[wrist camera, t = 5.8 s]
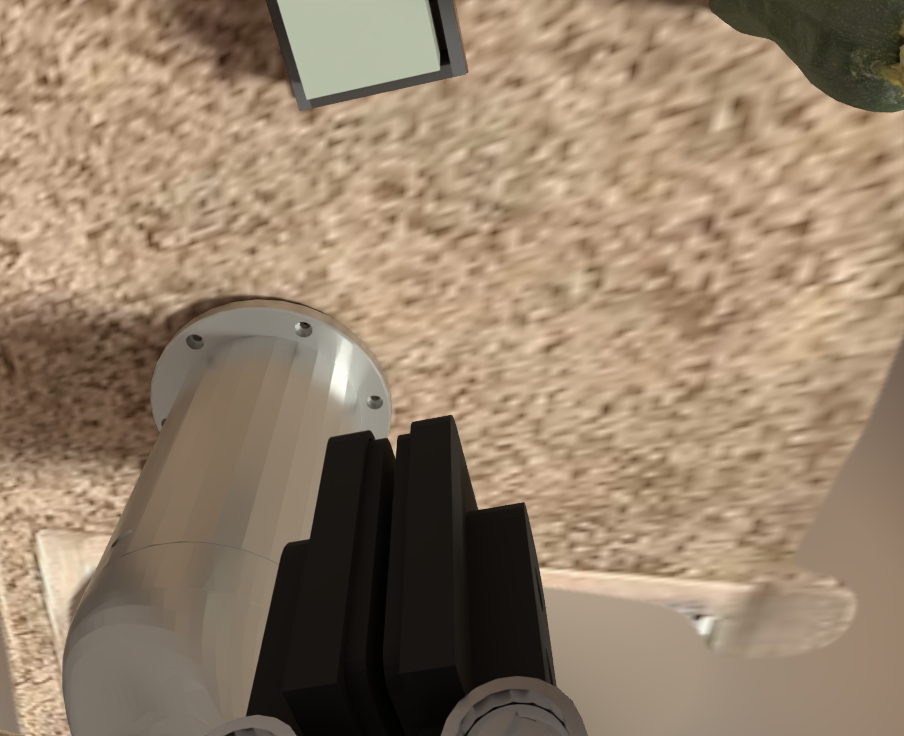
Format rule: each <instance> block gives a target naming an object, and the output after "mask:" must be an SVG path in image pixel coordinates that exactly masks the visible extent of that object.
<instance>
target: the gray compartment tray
mask: <svg viewBox="0 0 904 736" xmlns="http://www.w3.org/2000/svg"><path fill="white" fill-rule="evenodd" d="M266 2H267V6H268V9H269V12H270V15H271V19H272V22H273V25H274V29H275V32H276V35H277V38H278V42H279V45H280V48H281V51H282V55H283V58H284V61H285V65H286V68H287V71H288V74H289V78H290V81H291V84H292V87H293V91H294V94H295V97H296V101H297V104H298V107H299V110H300V111H302V110H307V109H311V108H316V107H320V106H325V105H329V104H334V103H338V102H343V101H348V100H352V99H357V98H361V97H366V96H370V95H375V94H379V93H384V92H388V91H393V90H397V89H402V88H406V87H411V86H415V85H420V84H424V83H429V82H434V81H438V80H443V79H447V78H452V77H456V76H461V75H465V74H466V73H468V66H467V61H466V56H465V51H464V46H463V41H462V36H461V30H460V25H459V20H458V15H457V10H456V5H455V0H430V2H431V7H432V11H433V16H434V21H435V26H436V30H437V35H438V40H439V45H440V70H439V71H434V72H430V73H425V74H421V75H416V76H412V77H407V78H403V79H398V80H394V81H389V82H385V83H380V84H376V85H371V86H367V87H362V88H358V89H353V90H349V91H344V92H340V93H335V94H331V95H326V96H322V97H317V98H313V99H308V100H307V99H306V95H305V92H304V89H303V85H302V82H301V79H300V75H299V72H298V69H297V65H296V62H295V59H294V55H293V52H292V49H291V45H290V42H289V39H288V35H287V32H286V29H285V25H284V22H283V19H282V15H281V12H280V9H279V5H278V2H277V0H266Z"/></svg>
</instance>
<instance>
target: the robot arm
mask: <svg viewBox="0 0 904 736" xmlns="http://www.w3.org/2000/svg"><path fill="white" fill-rule="evenodd" d="M302 322H306V323H308V325H306V324H303V323H302ZM197 335H198V336H197ZM199 336H200V337H199ZM150 404H151V409H152V413H153V418H154V422H155V424H156V426H157V429H158V431H159V436H158V438H157V440H156V442H155V444H154V446H153V448H152V451H151V453H150V455H149V457H148V459H147V461H146V463H145V466H144V468H143V470H142V472H141V474H140V476H139V478H138V481H137V483H136V485H135V487H134V489H133V491H132V493H131V496H130V498H129V500H128V502H127V504H126V506H125V508H124V511H123V513H122V515H121V517H120V519H119V521H118V523H117V526H116V528H115V530H114V532H113V534H112V536H111V538H110V541H109V543H108V545H107V547H106V549H105V551H104V553H103V556H102V558H101V560H100V562H99V564H98V566H97V568H96V571H95V573H94V575H93V577H92V579H91V581H90V583H89V585H88V587H87V589H86V591H85V593H84V595H83V597H82V599H81V601H80V604H79V606H78V608H77V610H76V612H75V615H74V617H73V620H72V622H71V625H70V627H69V631H68V634H67V638H66V643H65V649H64V654H63V665H62V689H63V697H64V703H65V709H66V715H67V720H68V724H69V728H70V731H71V735H72V736H588V734H587V732H586V729H585V726H584V723H583V720H582V718H581V716H580V714H579V712H578V710H577V708H576V707H575V705H574V703H573V701H572V700H571V699H570V698H569V697H568V696H567V695H565V694H564V693H563V692H562V691H561V690H560V689H559V688H558V687H557V686H556V680H555V673H554V665H553V657H552V651H551V643H550V636H549V629H548V622H547V615H546V607H545V600H544V594H543V588H542V582H541V576H540V570H539V565H538V560H537V555H536V550H535V545H534V540H533V536H532V531H531V527H530V522H529V518H528V513H527V509H526V506H525V503H524V502H523V503H517V504H511V505H505V506H500V507H494V508H488V509H482V510H478V507H477V503H476V500H475V496H474V492H473V488H472V484H471V480H470V477H469V473H468V469H467V465H466V461H465V458H464V454H463V450H462V446H461V442H460V438H459V435H458V431H457V427H456V424H455V420H454V418H453V416H452V415H448V416H443V417H437V418H432V419H426V420H421V421H415V422H412V423H411V431H410V434H404V435H399V436H398V439H397V451H396V459H395V456H394V453H393V450H392V447H391V444H390V442H389V440H388V435H389V432H390V425H391V416H392V401H391V392H390V388H389V384H388V380H387V377H386V375H385V373H384V371H383V369H382V367H381V365H380V363H379V361H378V359H377V358H376V356H375V355H374V354H373V353H372V351H371V350H370V349H369V347H368V346H367V345H366V344H365V342H364V341H362V340H361V339H360V338H359V337H358V336H357V335H356V334H355V333H353V332H352V331H351V330H350V329H349V328H348V327H346V326H345V325H343V324H341V323H340V322H338V321H336V320H335V319H333V318H331V317H330V316H328V315H326V314H324V313H321V312H319V311H316V310H314V309H311V308H309V307H306V306H303V305H298V304H294V303H289V302H285V301H277V300H259V299H256V300H247V301H238V302H232V303H229V304H225V305H222V306H219V307H215V308H212V309H210V310H208V311H206V312H204V313H202V314H201V315H199V316H197V317H195V318H193V319H192V320H190V321H189V322H188V323H187V324H186V325H184V326H183V327H182V328H181V329H180V330H179V331H177V332H176V333H175V335H174V336H173V337H172V339H171V340H170V341H169V343H168V344H167V346H166V347H165V348H164V350H163V352H162V354H161V356H160V358H159V360H158V362H157V364H156V366H155V370H154V373H153V377H152V380H151V391H150ZM0 736H24V735H20V734H16V733H12V732H7V731H4V730H0Z"/></svg>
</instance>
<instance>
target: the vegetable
mask: <svg viewBox="0 0 904 736" xmlns="http://www.w3.org/2000/svg"><path fill="white" fill-rule="evenodd" d="M709 6H710V9H711V11H712V12H713V13H714V14H715V15H717V16H718V17H719V18H720V19H722V20H723V21H724V22H725V23H727V24H728V25H730V26H731V27H732V28H734V29H735V30H737V31H739V32H741V33H744V34H748V35H752V36H757V37H762V38H767V39H770V40H772V41H774V42H775V43H776V44H778V46H779V47H780V48H781V49H782V50H783V51H784V52H785V53H786V55H787V56H788V57H789V58H790V59H791V60H792V61H793V62H794V63H795V64H796V65H797V66H798V67H799V68H800V70H801V71H802V72H803V74H804V75H805V76H806V77H807V79H808V80H809V81H810V82H811V83H812V84H813V85H814V86H816V87H817V88H818V89H820V90H821V91H822V92H824V93H825V94H827V95H828V96H830V97H832V98H833V99H835V100H836V101H839V102H842V103H844V104H847V105H850V106H852V107H855V108H859V109H863V110H867V111H872V112H890V113H891V112H897V111H901V110H904V0H709Z"/></svg>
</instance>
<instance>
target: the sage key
mask: <svg viewBox="0 0 904 736" xmlns="http://www.w3.org/2000/svg"><path fill="white" fill-rule="evenodd" d="M277 2H278V5H279V9H280V12H281V15H282V19H283V22H284V25H285V29H286V32H287V35H288V39H289V42H290V45H291V49H292V52H293V55H294V59H295V62H296V65H297V69H298V72H299V75H300V79H301V82H302V85H303V89H304V92H305V95H306V99H307V100H308V99H313V98H317V97H322V96H326V95H331V94H335V93H340V92H344V91H349V90H353V89H358V88H362V87H367V86H371V85H376V84H380V83H385V82H389V81H394V80H398V79H403V78H407V77H412V76H416V75H421V74H425V73H430V72H434V71H439V70H440V45H439V40H438V35H437V30H436V26H435V21H434V16H433V11H432V7H431V2H430V0H277Z"/></svg>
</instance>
